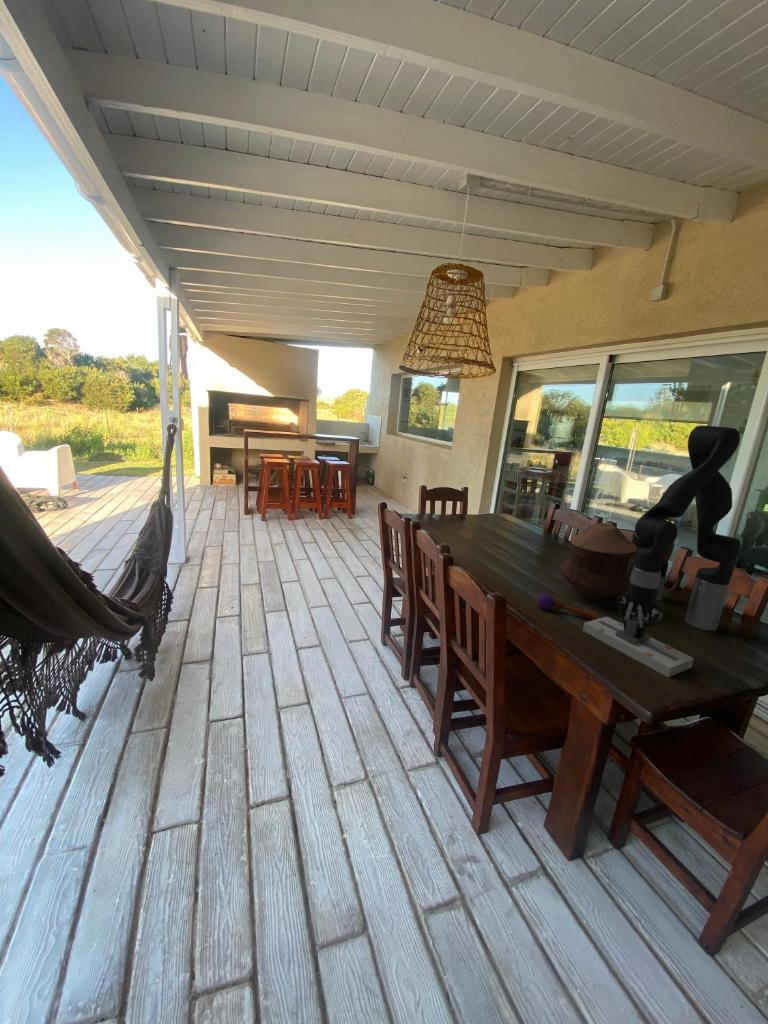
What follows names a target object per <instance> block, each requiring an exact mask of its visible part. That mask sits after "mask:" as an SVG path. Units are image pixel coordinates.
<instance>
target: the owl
mask: <svg viewBox="0 0 768 1024" xmlns="http://www.w3.org/2000/svg"><path fill="white" fill-rule="evenodd" d="M630 542H631V543H633V544H634V545H635V546H637V548H638V549H640V548H652V547H653V546H654V542H651V541H648V540H644V539H641V538H639V537H638V536H637V535H636V533H632V540H631V541H630ZM638 549H637V551H638ZM637 551H635V552H633V553H631V555H630V560H629V564H628V568H627V573H628V575H629V576H631V572H632V570H633V567H634V563H635V558H636V553H637Z"/></svg>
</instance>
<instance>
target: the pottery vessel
mask: <svg viewBox="0 0 768 1024" xmlns="http://www.w3.org/2000/svg"><path fill="white" fill-rule="evenodd" d="M569 542H570V544H571V545H572V546H571V550H570V554H569V558H568V559H567V560H566V561H565V562H564V563H562V565H561V566H560V572H561V574H562V576H563V577H564V579H565V580H566V581H567V582H568V583H569V584H570V585H571V586H572V587H573V588H574V589H575V590H576V593H577V594H578V595H579V596H581V597H583V598H586V599H589V600H590V599H591V600H603V598H607V597H612V596H617V595H620V594H624V593H627V591H628V586H629V582H630V577H629V575H628V569H627V568H628V564H629V560H630V555H631V553H633V552H635V551H637V549H638V548H637V546H635V545H634V544H633V543H631V542H632V541H630V540H629V539H628V538H627V536H625V534H624V533H623V532H622V531H621V530H620V529H619V528H618V527H617V526H615V525H613V524H610V523H605V522H595V523H592V524H591V525H590V526H588V527H586V528H585V529H584V530H583V531H581V532H580V533H578V534H574V535H572V536H571V537H570V538H569Z"/></svg>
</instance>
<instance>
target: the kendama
mask: <svg viewBox="0 0 768 1024" xmlns="http://www.w3.org/2000/svg"><path fill="white" fill-rule="evenodd" d="M536 601H537V603H536V604H537V605H538V607H539V608H541V609H542V610H544V611H549V610H551V609H553V610H554V611H557V610H558V611H559V610H567V611H569V612H571V613H574V614H576V615H579V616H581V617H584V618H585V619H589V620H590V621H592V620H596V619H598V612H597V611H594V610H593V611H592V610H588V609H583V608H577V607H573V606H567V605H565V604H563V603H562V602H561V601H560V600H559V599H557V598H556V600H555V599H554V597H553V595H551V594H549V593H541V594H540V595H539V596H538V597H537V600H536Z"/></svg>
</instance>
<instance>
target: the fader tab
mask: <svg viewBox="0 0 768 1024" xmlns="http://www.w3.org/2000/svg"><path fill="white" fill-rule="evenodd" d="M638 626H639V619H638V617H637V616H634V617H633V618H630V619H627V623H626V628H625V629H624V630H625V631H624V630H621V631H618V632H616V634H615V635H616V636H618V637H620V638H622V639H624V640H626V641H628V642H630V643H632V644H634V645H635V644H637V643H640V642H643V641H646V640H649V639H650V637H651V635H648V634H646V633H645V634H644V636H642V637H640V638H637V637H636V633H637V629H638Z"/></svg>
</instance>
